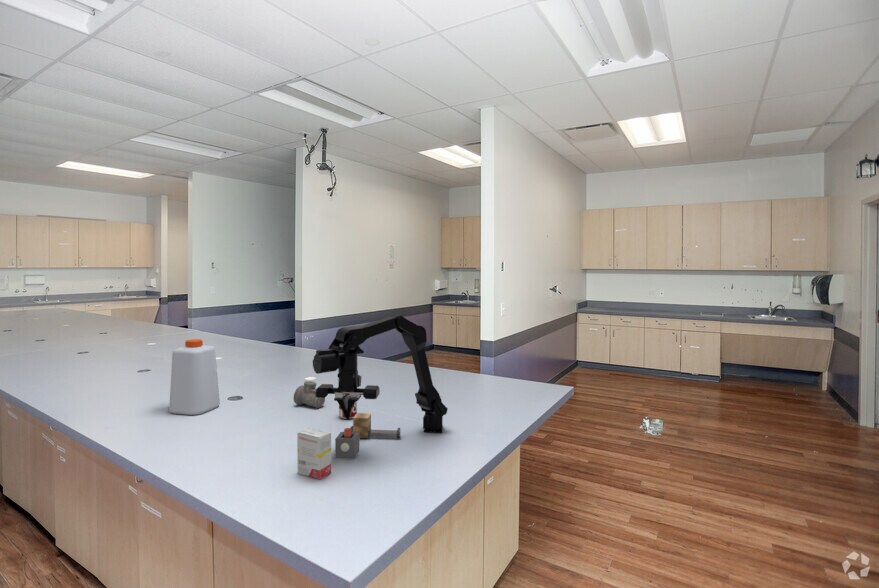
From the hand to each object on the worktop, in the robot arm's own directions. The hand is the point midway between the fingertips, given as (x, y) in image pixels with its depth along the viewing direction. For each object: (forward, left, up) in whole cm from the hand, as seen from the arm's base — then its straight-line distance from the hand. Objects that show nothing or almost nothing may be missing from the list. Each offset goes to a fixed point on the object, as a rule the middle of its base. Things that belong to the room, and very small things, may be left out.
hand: (347, 418), depth 138 cm
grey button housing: (0, 0, -11) cm, 11 cm away
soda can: (+9, -34, -12) cm, 37 cm away
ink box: (+6, +13, -12) cm, 18 cm away
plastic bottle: (+72, -37, -12) cm, 82 cm away
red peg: (0, 0, -7) cm, 7 cm away
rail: (-5, -15, -11) cm, 19 cm away
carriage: (-1, -15, -11) cm, 19 cm away
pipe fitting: (+28, -46, -12) cm, 55 cm away
